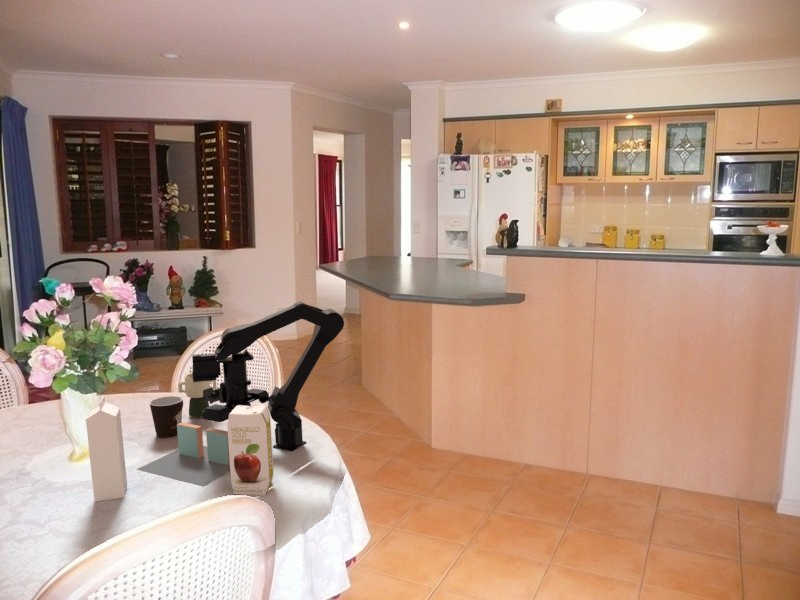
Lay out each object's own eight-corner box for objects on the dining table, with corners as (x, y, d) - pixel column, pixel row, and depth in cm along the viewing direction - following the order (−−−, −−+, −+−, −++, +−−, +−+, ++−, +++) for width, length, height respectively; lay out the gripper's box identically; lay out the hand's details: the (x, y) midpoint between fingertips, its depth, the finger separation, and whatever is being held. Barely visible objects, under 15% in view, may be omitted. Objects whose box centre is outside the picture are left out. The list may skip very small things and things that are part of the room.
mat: (256, 458, 157) (256, 456, 157) (203, 487, 141) (203, 486, 141) (191, 444, 167) (191, 443, 166) (136, 470, 151) (136, 469, 151)
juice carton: (239, 482, 143) (234, 403, 140) (276, 482, 143) (271, 403, 140) (229, 498, 136) (223, 414, 133) (268, 497, 135) (263, 414, 132)
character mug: (218, 410, 194) (215, 370, 192) (218, 417, 187) (215, 376, 185) (181, 414, 191) (178, 373, 189) (180, 421, 184) (176, 379, 182)
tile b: (203, 456, 158) (201, 426, 156) (198, 458, 156) (196, 428, 155) (183, 451, 161) (181, 422, 160) (178, 454, 159) (176, 424, 158)
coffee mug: (163, 443, 168) (160, 408, 166) (146, 436, 173) (143, 402, 171) (200, 430, 177) (198, 396, 175) (182, 424, 182) (180, 391, 181)
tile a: (234, 463, 153) (232, 432, 152) (229, 465, 152) (227, 434, 150) (212, 458, 156) (210, 428, 155) (207, 460, 155) (205, 430, 153)
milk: (94, 502, 135) (83, 405, 132) (99, 490, 141) (88, 397, 137) (124, 497, 137) (114, 402, 133) (128, 486, 143) (118, 393, 139)
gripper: (236, 365, 169) (239, 420, 171) (184, 384, 152) (188, 444, 155) (268, 369, 164) (271, 426, 166) (218, 389, 147) (222, 451, 150)
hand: (239, 436), depth 159 cm, fingers closed
